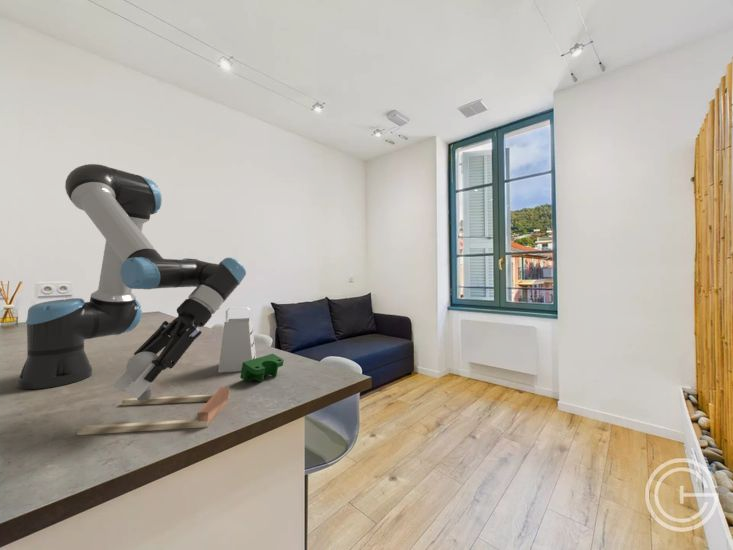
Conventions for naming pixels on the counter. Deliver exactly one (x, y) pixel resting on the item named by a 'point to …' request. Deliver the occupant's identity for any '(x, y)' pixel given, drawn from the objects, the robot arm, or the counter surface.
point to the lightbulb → (141, 370)
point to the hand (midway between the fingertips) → (124, 391)
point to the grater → (237, 343)
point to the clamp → (261, 367)
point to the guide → (203, 420)
